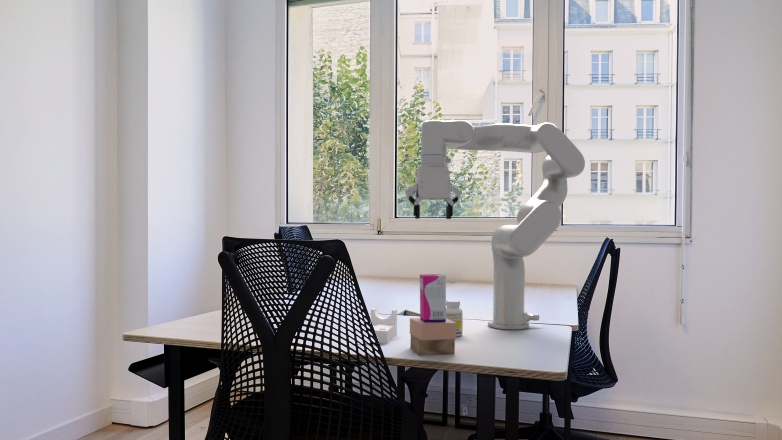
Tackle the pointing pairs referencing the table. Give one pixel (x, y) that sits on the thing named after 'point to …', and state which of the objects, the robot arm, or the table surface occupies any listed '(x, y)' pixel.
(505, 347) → the table surface
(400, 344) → the table surface
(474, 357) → the table surface
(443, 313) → the supplement box
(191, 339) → the table surface
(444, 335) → the tower top
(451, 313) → the supplement bottle
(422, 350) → the tower bottom
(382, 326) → the bracket
